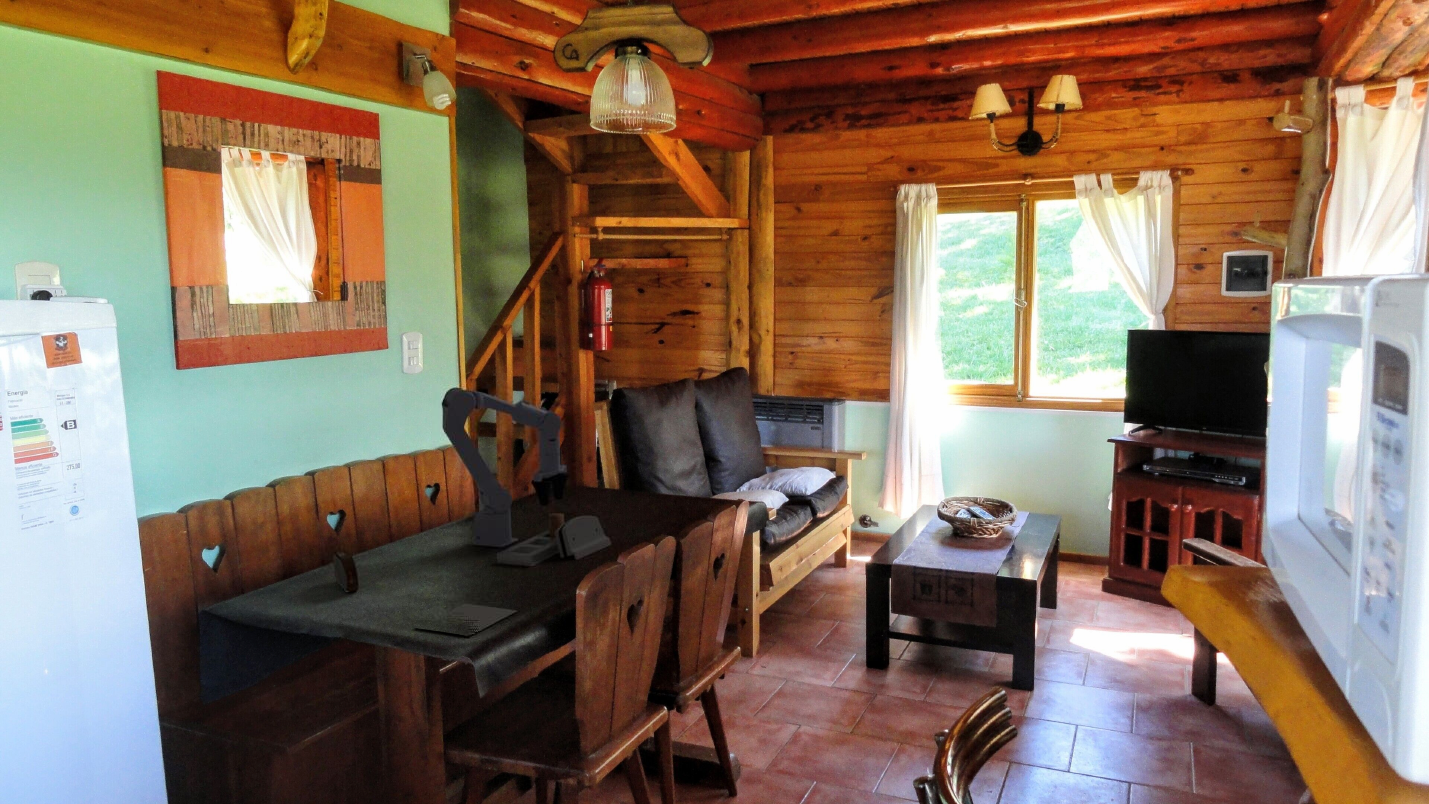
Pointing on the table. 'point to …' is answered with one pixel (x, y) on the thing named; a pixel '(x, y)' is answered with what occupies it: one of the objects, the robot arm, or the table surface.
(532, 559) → the tray
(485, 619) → the dark grey mat
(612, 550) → the table surface
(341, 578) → the tin
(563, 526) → the hinge
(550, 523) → the peg
